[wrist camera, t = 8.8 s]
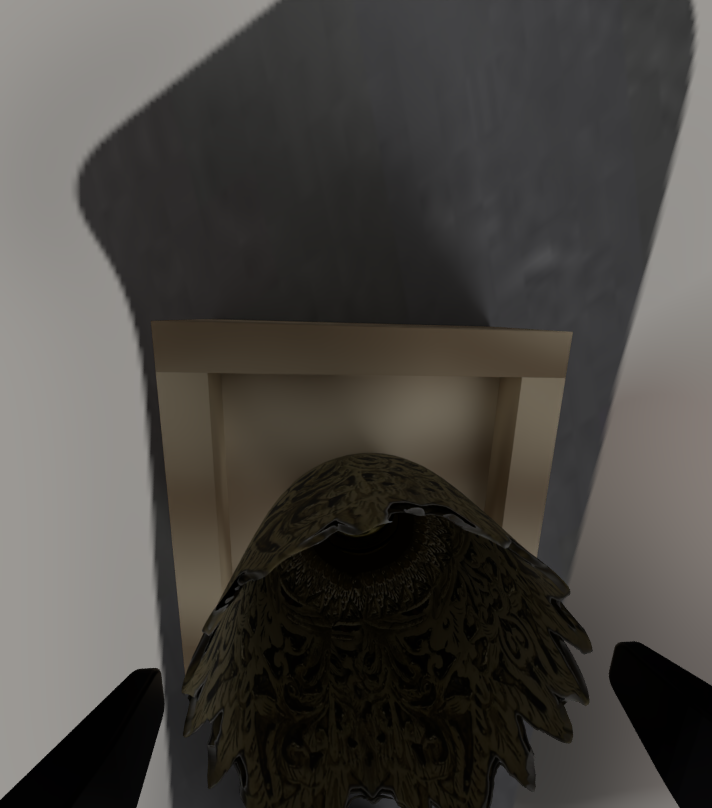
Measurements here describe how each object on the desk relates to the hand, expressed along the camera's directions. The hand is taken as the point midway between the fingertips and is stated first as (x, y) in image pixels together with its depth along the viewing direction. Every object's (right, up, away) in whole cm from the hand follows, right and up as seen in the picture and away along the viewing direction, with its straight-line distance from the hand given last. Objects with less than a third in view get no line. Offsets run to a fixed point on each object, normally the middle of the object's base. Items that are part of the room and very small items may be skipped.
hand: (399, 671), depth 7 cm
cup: (-1, +2, +7) cm, 8 cm away
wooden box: (-1, +3, +11) cm, 12 cm away
